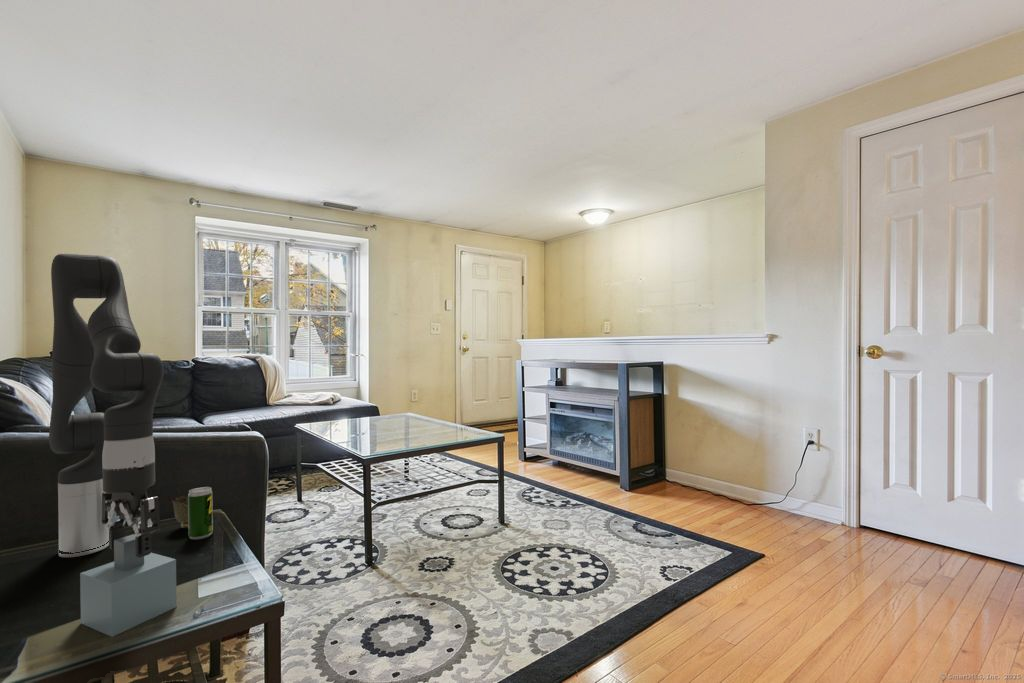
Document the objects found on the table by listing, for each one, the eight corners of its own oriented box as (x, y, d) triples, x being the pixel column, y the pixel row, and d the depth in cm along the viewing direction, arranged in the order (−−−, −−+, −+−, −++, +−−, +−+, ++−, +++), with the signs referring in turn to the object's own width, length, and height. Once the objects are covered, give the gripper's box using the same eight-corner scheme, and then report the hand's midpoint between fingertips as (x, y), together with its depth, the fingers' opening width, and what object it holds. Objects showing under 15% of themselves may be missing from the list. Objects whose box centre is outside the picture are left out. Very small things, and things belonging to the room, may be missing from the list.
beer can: (188, 541, 122) (187, 493, 122) (188, 535, 126) (187, 489, 126) (213, 536, 125) (212, 490, 125) (212, 530, 129) (212, 485, 129)
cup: (183, 522, 136) (182, 494, 136) (210, 521, 137) (210, 492, 137) (166, 532, 129) (166, 502, 129) (195, 531, 129) (195, 501, 129)
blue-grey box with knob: (80, 623, 85) (79, 544, 85) (145, 596, 94) (144, 525, 95) (112, 636, 81) (111, 553, 81) (176, 607, 90) (175, 532, 90)
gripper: (83, 463, 88) (84, 553, 88) (127, 470, 82) (128, 567, 81) (131, 455, 95) (132, 538, 94) (174, 460, 88) (175, 550, 88)
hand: (130, 551), depth 88 cm, fingers open, 8 cm apart
